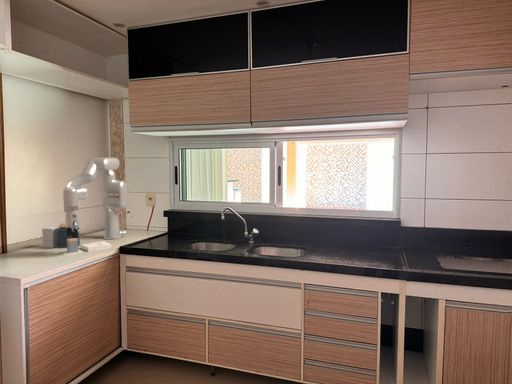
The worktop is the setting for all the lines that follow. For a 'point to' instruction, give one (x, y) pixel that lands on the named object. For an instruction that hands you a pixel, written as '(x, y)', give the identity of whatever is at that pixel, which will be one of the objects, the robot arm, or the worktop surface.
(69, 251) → the plug
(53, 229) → the supplement box
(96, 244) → the white flat block
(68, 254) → the mat
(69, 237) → the canister
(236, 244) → the worktop surface
